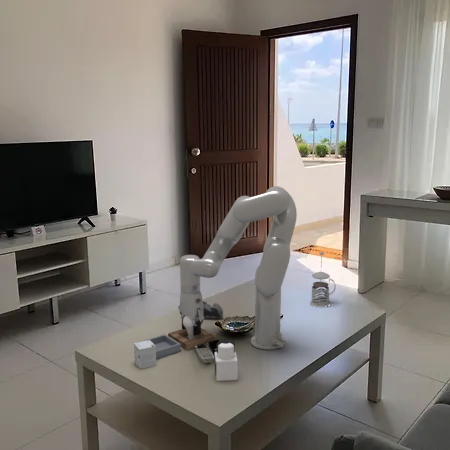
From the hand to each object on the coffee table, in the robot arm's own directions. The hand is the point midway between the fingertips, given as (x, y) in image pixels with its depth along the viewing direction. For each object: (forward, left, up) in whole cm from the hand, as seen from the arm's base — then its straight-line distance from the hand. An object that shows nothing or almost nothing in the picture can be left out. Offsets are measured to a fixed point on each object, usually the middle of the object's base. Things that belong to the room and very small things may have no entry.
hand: (191, 331), depth 193 cm
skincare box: (-6, +23, -4) cm, 24 cm away
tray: (0, +14, -4) cm, 15 cm away
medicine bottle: (-30, +6, -4) cm, 31 cm away
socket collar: (0, 0, -4) cm, 4 cm away
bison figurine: (+16, -21, -4) cm, 27 cm away
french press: (-5, -70, -4) cm, 70 cm away
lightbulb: (0, 0, -4) cm, 4 cm away
